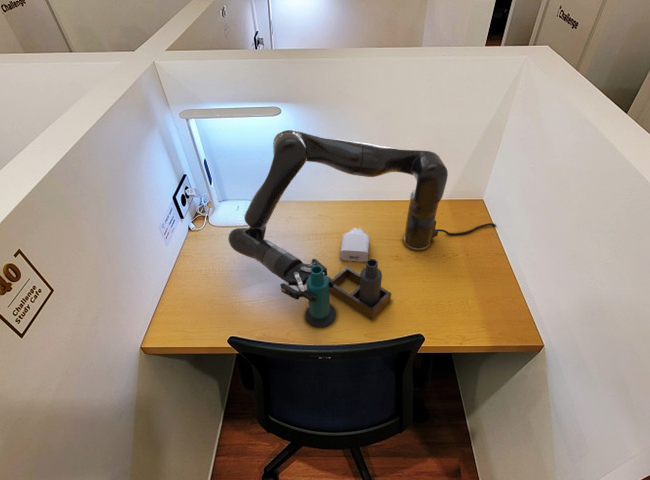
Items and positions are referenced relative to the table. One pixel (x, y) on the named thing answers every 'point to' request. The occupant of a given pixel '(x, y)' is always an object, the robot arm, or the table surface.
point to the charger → (355, 245)
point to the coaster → (323, 321)
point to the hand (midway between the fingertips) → (324, 292)
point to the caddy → (357, 294)
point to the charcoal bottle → (370, 283)
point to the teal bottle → (319, 292)
